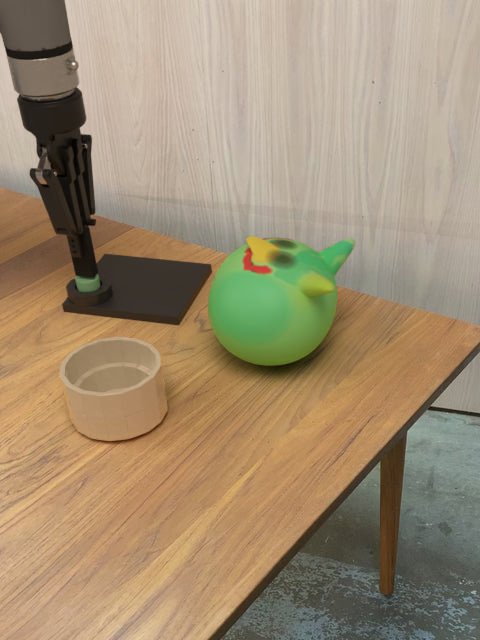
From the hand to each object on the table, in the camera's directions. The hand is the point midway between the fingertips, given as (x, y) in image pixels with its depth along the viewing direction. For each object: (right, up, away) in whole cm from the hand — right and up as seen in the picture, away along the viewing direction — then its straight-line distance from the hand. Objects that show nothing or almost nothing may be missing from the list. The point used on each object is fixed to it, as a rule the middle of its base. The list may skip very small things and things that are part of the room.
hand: (86, 273), depth 107 cm
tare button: (0, -1, +1) cm, 2 cm away
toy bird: (+26, -12, -6) cm, 29 cm away
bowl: (+8, -20, -15) cm, 27 cm away
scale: (+7, -1, +5) cm, 8 cm away
